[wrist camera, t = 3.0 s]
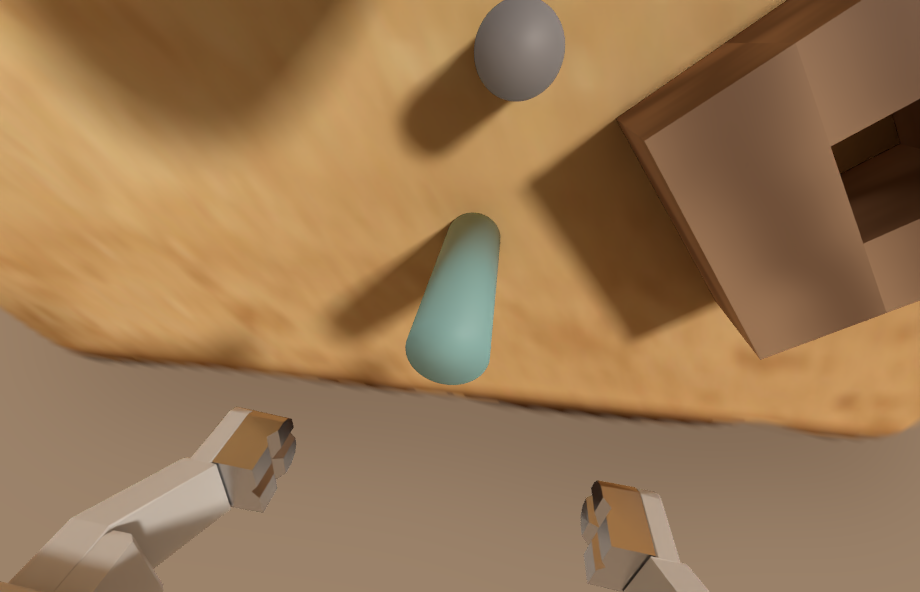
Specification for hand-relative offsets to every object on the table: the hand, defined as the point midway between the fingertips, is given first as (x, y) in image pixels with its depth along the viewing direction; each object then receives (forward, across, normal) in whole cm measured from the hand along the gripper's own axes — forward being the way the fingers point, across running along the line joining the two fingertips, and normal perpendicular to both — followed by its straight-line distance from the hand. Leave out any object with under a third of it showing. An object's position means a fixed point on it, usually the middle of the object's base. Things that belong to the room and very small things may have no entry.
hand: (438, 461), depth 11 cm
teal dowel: (+14, +1, 0) cm, 14 cm away
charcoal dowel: (+14, 0, -9) cm, 17 cm away
